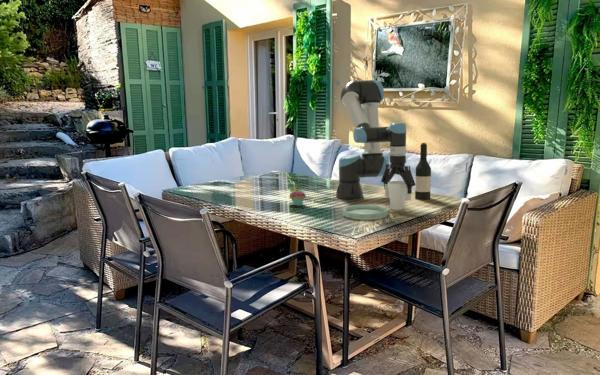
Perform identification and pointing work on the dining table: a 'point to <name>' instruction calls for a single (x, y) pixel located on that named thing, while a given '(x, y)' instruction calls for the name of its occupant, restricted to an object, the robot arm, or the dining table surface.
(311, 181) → the dining table surface
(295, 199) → the cupcake
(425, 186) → the wine bottle
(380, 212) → the saucer
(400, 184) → the foam cup
